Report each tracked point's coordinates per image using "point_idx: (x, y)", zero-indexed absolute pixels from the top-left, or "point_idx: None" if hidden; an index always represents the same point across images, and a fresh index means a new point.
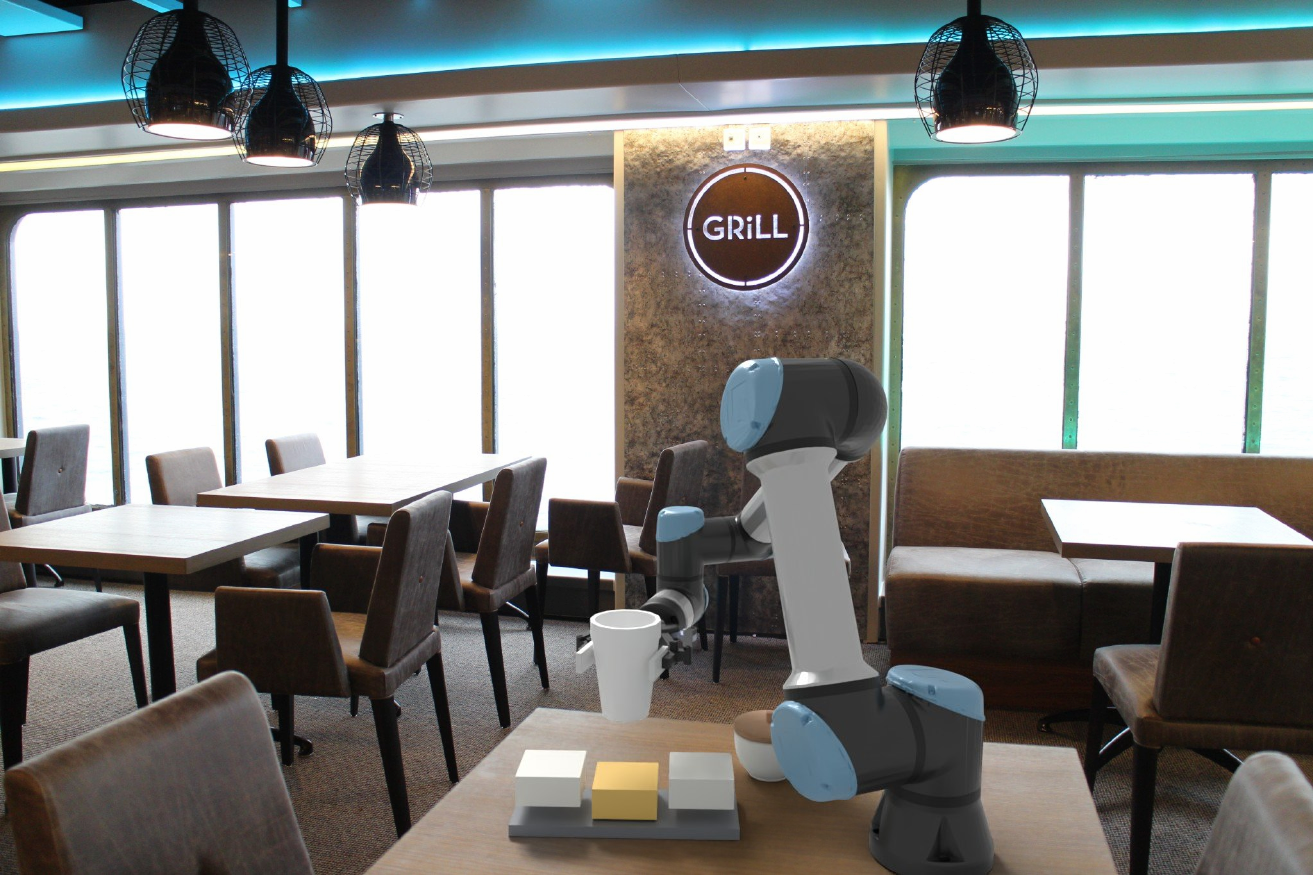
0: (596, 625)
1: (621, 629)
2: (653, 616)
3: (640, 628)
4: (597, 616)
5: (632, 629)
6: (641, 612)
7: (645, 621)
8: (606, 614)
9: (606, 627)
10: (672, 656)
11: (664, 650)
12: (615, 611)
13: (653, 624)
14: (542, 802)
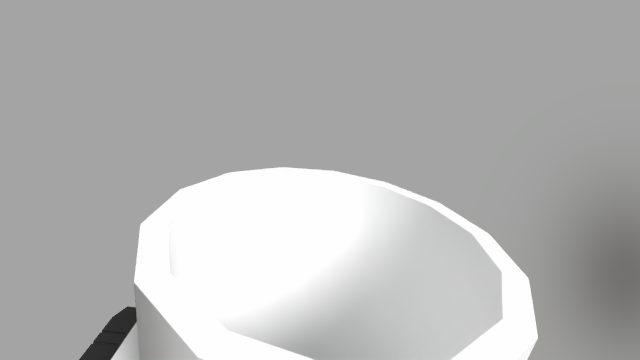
0: (403, 190)
1: (306, 169)
2: (177, 286)
3: (244, 172)
4: (484, 252)
5: (271, 169)
6: (282, 354)
7: None
8: (496, 307)
9: (359, 176)
10: (100, 334)
11: (135, 325)
12: (482, 339)
13: (191, 190)
14: None
